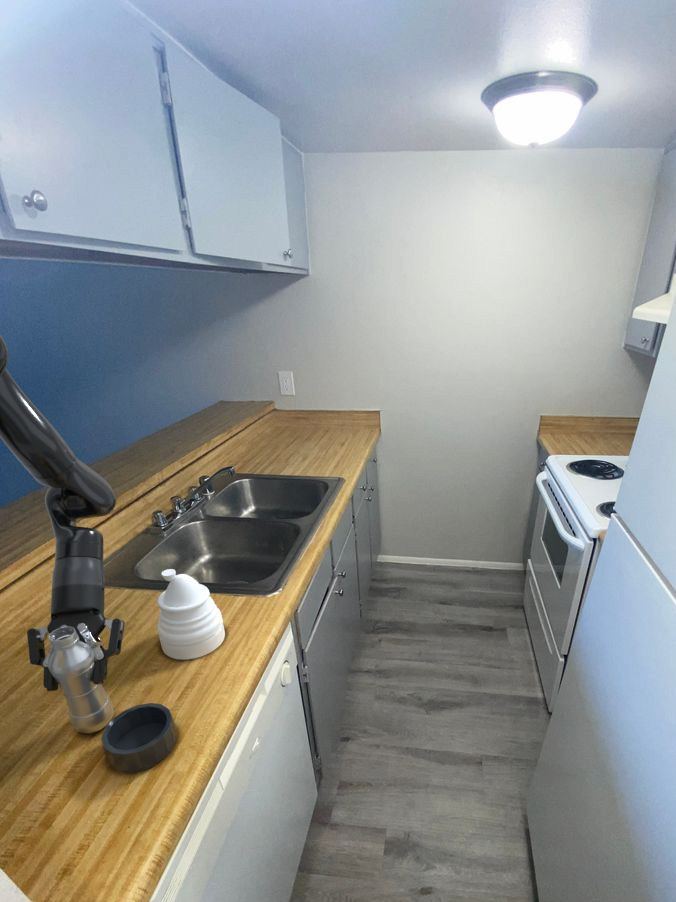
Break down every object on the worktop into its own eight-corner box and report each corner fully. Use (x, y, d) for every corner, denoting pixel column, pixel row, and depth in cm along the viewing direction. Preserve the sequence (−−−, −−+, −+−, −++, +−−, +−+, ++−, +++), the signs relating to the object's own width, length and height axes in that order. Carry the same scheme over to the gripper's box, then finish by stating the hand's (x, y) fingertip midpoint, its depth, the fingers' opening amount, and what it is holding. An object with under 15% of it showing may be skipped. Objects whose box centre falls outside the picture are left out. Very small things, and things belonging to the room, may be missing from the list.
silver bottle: (76, 745, 79) (37, 653, 70) (72, 718, 84) (35, 629, 75) (119, 727, 83) (88, 638, 73) (113, 702, 87) (83, 615, 78)
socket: (101, 779, 74) (93, 760, 72) (117, 727, 83) (111, 709, 81) (171, 765, 77) (166, 746, 74) (180, 716, 85) (176, 698, 83)
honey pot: (167, 667, 96) (148, 594, 87) (157, 632, 105) (139, 563, 97) (232, 646, 102) (219, 576, 94) (216, 615, 112) (204, 548, 103)
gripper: (18, 587, 76) (11, 695, 72) (117, 577, 80) (116, 679, 75) (41, 596, 83) (36, 694, 79) (131, 587, 87) (132, 680, 82)
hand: (76, 686), depth 77 cm, fingers closed on silver bottle, 6 cm apart
